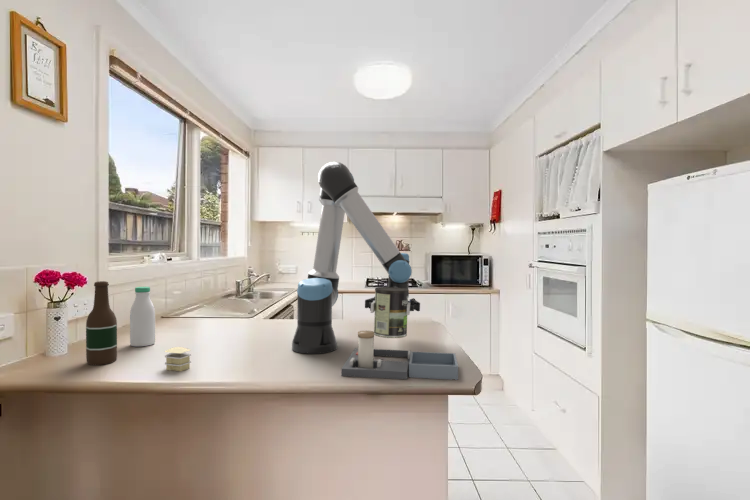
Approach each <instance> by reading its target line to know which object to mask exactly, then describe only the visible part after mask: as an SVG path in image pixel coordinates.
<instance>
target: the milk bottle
mask: <svg viewBox="0 0 750 500" xmlns="http://www.w3.org/2000/svg"><path fill="white" fill-rule="evenodd" d="M134 294H135V297H134V301H133V303H132V306H131V308H130V311H129V313H130V314H129V344H130V346H131V347H139V348H140V347H147V346H151V345H154V344H155V343H156V309H155V306H154V303H153V301H152V300H151V296H150V294H151V287H150V286H136V287H135V288H134Z"/></svg>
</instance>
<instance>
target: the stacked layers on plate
mask: <svg viewBox="0 0 750 500" xmlns="http://www.w3.org/2000/svg"><path fill="white" fill-rule="evenodd" d="M190 351H191V349H189V348H188V347H187V348H186V347H183V346H175V347H171V348H169V349H166V350H165V351H164V352H165V353H167V354H165V355H164V358H165V359H166V360H165V362H164V365H165V366H166V369H165V370H167V371H177V372H183V371H186V370H188V369H190V367H191V366H190V365H191V364H190V363H192V361H190V358H191V357H190V356H192V353H191V354H190V353H188V352H190Z"/></svg>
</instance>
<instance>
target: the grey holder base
mask: <svg viewBox="0 0 750 500" xmlns="http://www.w3.org/2000/svg"><path fill="white" fill-rule="evenodd" d="M410 355H411V350H410V349H408V350H405V349H403V350H402V349H401V350H400V349H380V348H379V349H377V348H374V357H375V356H376V357H396V358H398V357H399V358H407V361H399V360H398V361H396V360H382V359H381V358H378V359H374V362H373V369H371V368H358V347H357V348H356V347H355V348H354V349H353V351H352V353H351V354H350V355H349V357H348V358H347V359H346V361H345V363H344V364H343V365H342V367H341V372H340V376H341V377H353V378H354V377H355V378H377V379H392V380H393V379H395V380H408V377H409V361H410Z"/></svg>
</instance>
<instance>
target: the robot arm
mask: <svg viewBox="0 0 750 500" xmlns="http://www.w3.org/2000/svg"><path fill="white" fill-rule="evenodd" d="M317 180H318V184H319V187H320V192H319V198H318V201H319V202H320V203H321V214H320V220H319V226H318V227H319V228H318V234H317V241H316V247H315V254H314V259H313V261H314V262H313V266H312V269H311V270H310V271H309V272H307V274H308V275H307V279H302V280H300V281H299V282H298V283H297V290H296V293H297V317H296V319H297V326H296V328H295V333H294V335H293V338H292V342H291V350H292V351H294V352H296V353H300V354H308V355H309V354H311V355H313V354H314V355H315V354H318V355H319V354H325V353H331V352H333V351H335V350H337V347H338V346H337V343H338V342H337V339H336V336H335V331H334V329H333V325H332V324H333V323H332V321H333V306H335V304H336V303H337V300H338V298H339V289H338V288H339V281H340V276H339V275H338V272H337V268H338V263H339V262H338V261H339V260H338V259H339V254H340V248H341V247H340V246H341V240H342V236H343V235H342V233H343V228H344V221H345V215H346V216H347V217H348V219H349V220H350V222H351V223H352V225H353V226H354V227H355V229H356V230H357V231H358V233H359V234H360V237H362V239H363V240H364V241H365V243H366V245H367V246H368V247H369V248H370V250H371V251H372V253H373V254H374V256H375V257H376V258H377V259H378V261H379V262H380V264H381V265H382V266H383V268H384V269H385V271H386V272H387V273H386V274H388V279H387V281H388V282H387V287H398V288H406V289H408V290H409V279H410V278H411V276H412V273H413V270H412V267H411V264H410V254H408V253H406V252H405V253H404V252H403V253H402V252H400V250H399V248H398V247H397V245H396V244H395V243H394V241H393V240H392V238H391V237H390V236H389V235H388V233H387V231H386V230H385V229H384V227H383V225H382V224H381V223H380V221H379V220H378V219H377V217H376V215H375V214H374V213H373V212H372V210H371V208H370V207H369V206H368V204H367V203H366V202H365V200H364V199H363V197H362V196H361V195H360V192H359V187H358V185H357V184H356V182H355V178H354V176H353V174H352V173H351V170H350V169H349V168H348V167H347V166H346V164H343V163H341V162H339V161H329V162H327V163H326V164H324V165H323V166H322V167H321V168H320V170H319V172H318V175H317ZM409 295H410V293H409V292H408V298H410V297H409ZM364 309H369V311H370V313H371V314H373V313H375V296H374V297H371V298H367V299H365V300H364ZM414 311H417V312H420V311H421V302H419V301H418V300H416V298H410V299H409V300H408V304H407V316H409V315H410V313H411V312H414Z"/></svg>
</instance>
